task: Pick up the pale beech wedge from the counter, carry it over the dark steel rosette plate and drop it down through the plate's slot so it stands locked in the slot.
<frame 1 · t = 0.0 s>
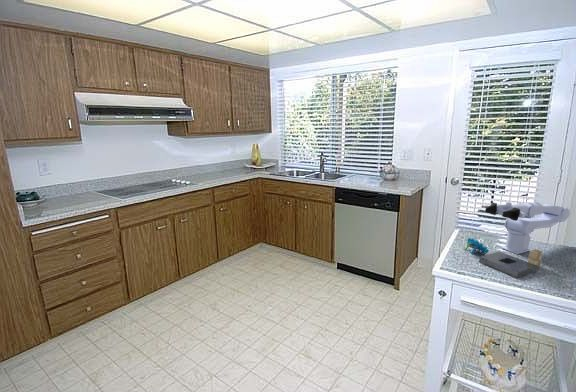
hand: (494, 212, 138), 22 cm above the counter, tool horizontal, fingers open, 7 cm apart
blue irregular piece: (475, 252, 148), on the counter
wedge: (533, 266, 134), on the counter
rosette plate: (506, 266, 134), on the counter
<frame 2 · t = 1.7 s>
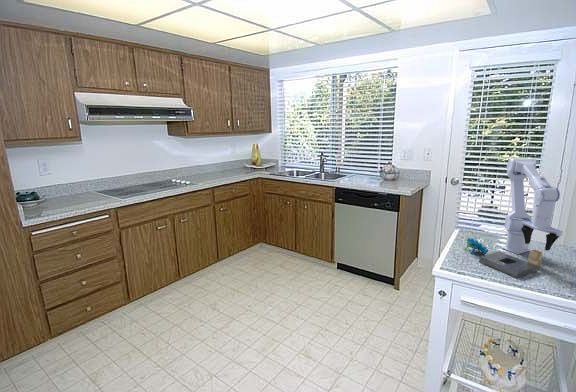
hand: (537, 246, 132), 9 cm above the counter, tool pointing down, fingers open, 7 cm apart
nothing on the counter moved.
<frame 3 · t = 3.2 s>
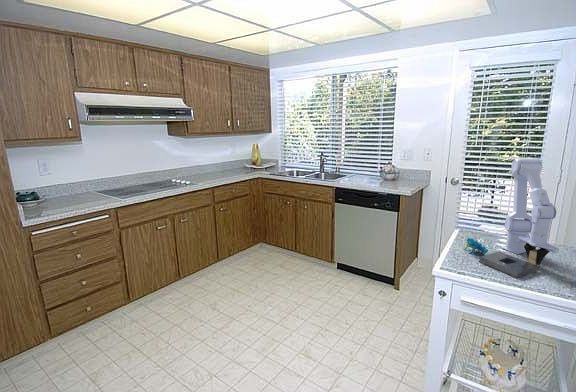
hand: (534, 262, 133), 2 cm above the counter, tool pointing down, fingers closed on wedge, 3 cm apart
wedge: (533, 265, 134), on the counter, touching gripper
everything else where it was.
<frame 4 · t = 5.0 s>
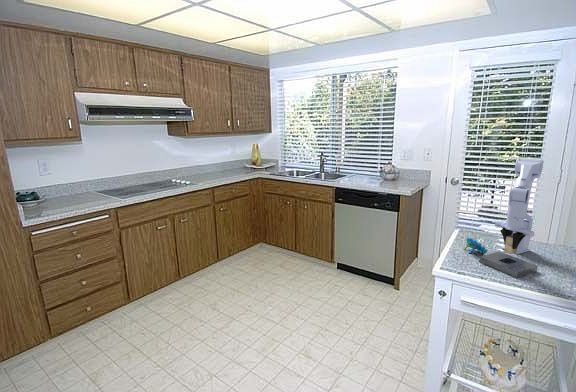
hand: (510, 247, 132), 9 cm above the counter, tool pointing down, fingers closed on wedge, 3 cm apart
wedge: (510, 252, 132), point 7 cm above the counter, touching gripper
everything else where it was.
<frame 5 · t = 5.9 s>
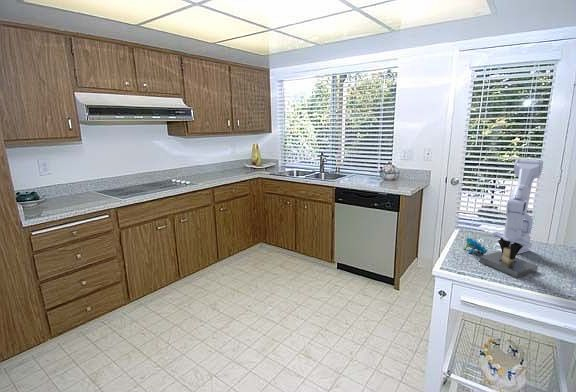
hand: (508, 257, 133), 4 cm above the counter, tool pointing down, fingers closed on wedge, 3 cm apart
wedge: (507, 263, 133), point 2 cm above the counter, touching gripper
everything else where it was.
when the fingers open (3 cm above the counter, at t = 6.8 s): wedge stays where it is, resting in rosette plate.
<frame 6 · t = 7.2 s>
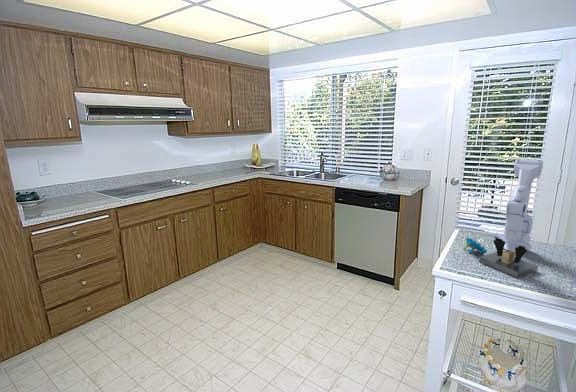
hand: (508, 259, 133), 3 cm above the counter, tool pointing down, fingers open, 7 cm apart
wedge: (506, 266, 134), resting in rosette plate
everything else where it was.
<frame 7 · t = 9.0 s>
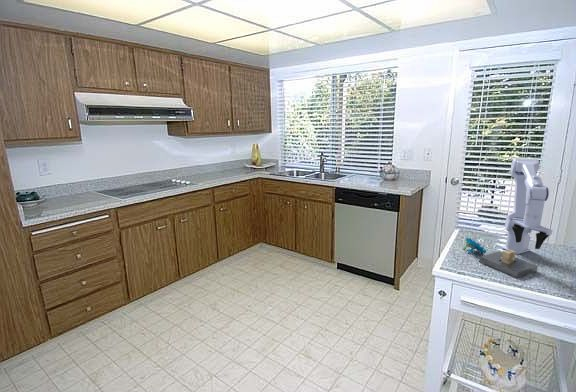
hand: (527, 245, 132), 9 cm above the counter, tool pointing down, fingers open, 7 cm apart
nothing on the counter moved.
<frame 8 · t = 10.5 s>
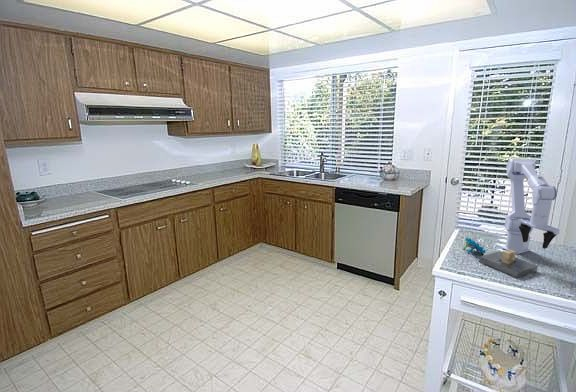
hand: (534, 244, 132), 9 cm above the counter, tool pointing down, fingers open, 7 cm apart
at the end: wedge 0.1 cm off-centre on the rosette plate, point 0.0 cm above the rosette plate's base; wedge tilted 0°; the gripper is holding nothing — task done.
